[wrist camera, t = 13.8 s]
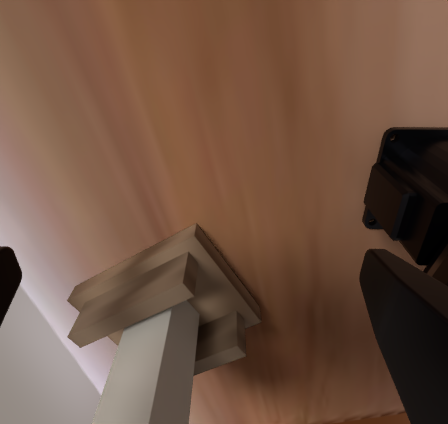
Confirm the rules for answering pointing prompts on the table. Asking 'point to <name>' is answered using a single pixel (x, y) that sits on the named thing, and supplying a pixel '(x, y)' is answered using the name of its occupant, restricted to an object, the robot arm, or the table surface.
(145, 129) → the table surface
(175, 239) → the beige rail channel
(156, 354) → the beige rectangular block
